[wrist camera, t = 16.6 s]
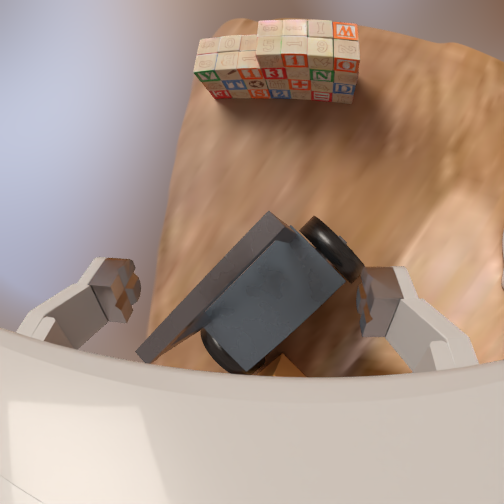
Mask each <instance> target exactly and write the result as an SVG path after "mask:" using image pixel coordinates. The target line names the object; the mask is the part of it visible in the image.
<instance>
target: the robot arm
mask: <svg viewBox="0 0 504 504" xmlns="http://www.w3.org/2000/svg"><path fill="white" fill-rule="evenodd" d="M503 258H504V232H503ZM134 270H135V265H134V263H133V261H132V260H130V259H121V258H104V257H97V258H95V259H94V260H93V262H92V263H91V264H90V266H89V267H88V269H87V270H86V271H85V273H84V274H83V276H82V277H81V278H80V280H79V281H78V283H77V284H72V285H71V286H69V287H68V288H66V289H64V290H63V291H61V292H60V293H58V294H56V295H55V296H53V297H52V298H50V299H48V300H47V301H45V302H44V303H42V304H41V305H39V306H37V307H36V308H34V309H33V310H31V311H30V312H29V313H28V315H27V316H26V318H25V319H24V321H23V322H22V324H21V325H20V327H19V328H18V330H17V331H16V332H12V331H9V330H6V329H3V328H0V504H504V360H499V361H494V362H489V363H484V364H479V363H478V360H477V357H476V355H475V352H474V349H473V347H472V344H471V341H470V339H469V337H468V336H467V335H466V334H465V333H463V332H462V331H461V330H460V329H459V328H458V327H456V326H455V325H454V324H453V323H452V322H450V321H449V320H448V319H447V318H446V317H444V316H443V315H442V314H441V313H440V312H438V311H437V310H436V309H435V308H434V307H432V306H431V305H430V304H429V303H427V302H426V301H425V300H424V299H419V298H418V295H417V293H416V290H415V288H414V285H413V283H412V280H411V278H410V276H409V273H408V271H407V269H406V267H404V266H392V267H363V269H362V273H361V279H362V283H361V284H360V285H359V286H358V290H357V298H356V303H357V311H358V313H359V314H360V315H361V318H360V327H361V333H362V337H385V338H386V340H387V341H388V342H389V343H390V344H391V346H392V347H393V348H394V349H395V350H396V352H397V353H398V354H399V355H400V357H401V358H402V359H403V360H404V361H405V363H406V364H407V365H408V366H409V368H410V369H411V370H412V371H413V372H412V373H408V374H396V375H381V376H361V377H276V376H256V375H241V374H228V373H217V372H207V371H198V370H189V369H181V368H174V367H167V366H160V365H153V364H147V363H141V362H135V361H129V360H124V359H119V358H113V357H108V356H104V355H99V354H95V353H90V352H85V351H81V350H78V349H79V348H80V347H81V346H82V345H83V344H84V343H85V342H86V341H88V340H89V339H90V338H91V337H92V336H93V335H94V334H95V333H96V332H98V331H99V330H100V329H101V328H102V327H103V326H104V325H106V324H107V322H108V321H110V322H120V323H127V322H128V320H129V318H130V316H131V314H132V311H133V308H132V305H133V304H134V303H136V302H137V301H138V299H139V297H140V292H141V284H140V280H139V277H138V276H137V275H136V274H134ZM502 287H503V289H504V270H503V276H502Z"/></svg>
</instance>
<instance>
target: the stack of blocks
mask: <svg viewBox="0 0 504 504" xmlns="http://www.w3.org/2000/svg"><path fill="white" fill-rule="evenodd" d="M358 40H359V38H358V27H357V24H352V23H343V22H332V21H327V20H308V21H307V20H267V21H259V24H258V33H257V34H256V35H234V36H222V37H216V38H207V39H201V40H200V43H199V47H198V51H197V57H196V61H195V66H194V71H193V72H194V74H195V75H196V76H197V78H198V79H199V80H200V82H202V83H203V85H204V86H205V87H206V89H207V90H208V91H209V92H210V93H211V95H212V96H213V97H214V99H221V98H268V99H270V98H283V99H306V100H315V101H327V102H336V103H346V104H352V101H353V96H354V91H355V87H356V84H357V79H358V73H359V72H358V68H359V63H360V52H359V42H358Z"/></svg>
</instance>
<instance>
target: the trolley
mask: <svg viewBox="0 0 504 504" xmlns="http://www.w3.org/2000/svg"><path fill="white" fill-rule="evenodd" d="M299 231H300V232H301V233H302V234H303V235H304V236H305V237H306V238H307V239H308V240H309V241H310V242H311V243H312V244H313V245H314V246H315V247H316V248H315V249H314V248H313V247H312V246H311V245H310V244H309V243H308V242H307V241H306V240H305V239H304V238H303V237H302V236H301V235H300V234H299V233H298V232H297V231H296V230H295V229H294V228H293V227H292V226H291V225H290V226H288V225H287V224H285V223H284V222H283V221H282V220H280V219H279V218H278V217H276V216H275V215H274V214H272V213H271V212H270V211H268V212H267V213H266V214H265V215H264V216H263V217H262V218H261V219H260V220H259V221H258V222H257V223H256V224H255V225H254V226H253V227H252V228H251V229H250V230H249V232H248V233H247V234H246V235H245V236H244V237H243V238H242V239H241V240H240V241H239V242H238V243H237V244H236V245H235V246H234V247H233V248H232V249H231V250H230V251H229V252H228V253H227V254H226V255H225V257H224V258H223V259H222V260H221V261H220V262H219V263H218V264H217V265H216V266H215V267H214V268H213V269H212V270H211V271H210V272H209V273H208V274H207V275H206V276H205V278H204V279H203V280H202V281H201V282H200V283H199V284H198V285H197V286H196V287H195V288H194V289H193V290H192V291H191V292H190V293H189V294H188V295H187V297H186V298H185V299H184V300H183V301H182V302H181V303H180V304H179V305H178V306H177V307H176V308H175V309H174V310H173V311H172V313H171V314H170V315H169V316H168V317H167V318H166V319H165V320H164V321H163V322H162V323H161V324H160V325H159V326H158V328H157V329H156V330H155V331H154V332H153V333H152V334H151V335H150V336H149V337H148V338H147V339H146V340H145V342H144V343H143V344H142V345H141V346H140V347H139V348H138V349H137V350H136V351H135V352H136V353H137V354H138V355H139V357H140V358H141V359H142V360H143V361H144V362H145V363H147V364H151V363H152V362H154V361H155V360H157V359H158V358H159V357H160V356H161V355H162V354H164V353H166V352H167V351H169V350H170V349H172V348H173V347H175V346H177V345H178V344H180V343H181V342H183V341H184V340H186V339H187V338H189V337H190V336H192V335H194V334H195V333H197V332H198V331H200V330H201V338H202V341H203V344H204V346H205V348H206V349H207V351H208V352H209V354H210V355H211V356H212V358H213V359H214V360H215V361H216V362H217V363H218V364H219V365H220V366H221V367H222V368H223V369H225V370H226V371H228V372H229V373H231V374H241V375H252V374H253V373H254V372H255V371H256V370H258V369H259V368H260V367H261V366H262V365H263V364H264V363H265V356H266V355H267V354H268V353H269V352H270V351H271V350H273V349H274V348H275V347H276V346H277V345H278V344H279V343H281V342H282V341H283V340H284V339H285V338H286V337H287V336H288V335H290V334H291V333H292V332H293V331H294V330H295V329H296V328H297V327H298V326H299V325H301V324H302V323H303V322H304V321H305V320H306V319H307V318H308V317H309V316H310V315H311V314H312V313H313V312H315V311H316V310H317V309H318V308H319V307H320V306H321V305H322V304H323V303H324V302H325V301H326V300H327V299H328V298H329V297H330V296H331V295H332V294H333V293H334V292H335V291H336V290H337V289H338V288H339V287H340V286H342V285H343V284H344V283H345V282H346V281H345V279H344V278H343V277H342V276H341V275H340V274H339V273H338V272H337V271H336V270H335V269H334V267H336V268H337V269H338V270H339V271H340V273H341V274H342V275H343V276H344V277H345V278H346V279H347V280H348V281H349V282H350V283H351V284H352V283H353V282H354V281H355V280H356V279H357V278H358V277H359V276H360V275H361V273H362V269H363V267H365V266H364V264H363V263H362V262H361V261H360V259H359V258H358V257H357V256H356V255H355V254H354V253H353V251H352V250H351V249H350V248H349V247H348V246H347V245H346V243H347V242H346V241H345V240H344V239H343V238H342V237H341V236H339V237H338V236H337V235H336V234H335V233H334V232H333V231H332V230H331V229H330V228H329V227H328V226H326V225H325V224H324V223H323V222H322V221H321V220H320V219H318V218H317V217H316V216H313V217H312V218H311V219H310V220H309V221H308V222H307V223H306V224H305V225H304V226H303V227H302V228H301V229H300V230H299ZM275 240H276V241H275ZM274 241H275V242H274ZM273 242H274V243H273ZM272 243H273V244H272ZM271 244H272V245H271ZM270 245H271V246H270ZM269 246H270V247H269ZM268 247H269V248H268ZM267 248H268V249H267ZM266 249H267V250H266ZM265 250H266V251H265ZM264 251H265V252H264ZM263 252H264V253H263ZM262 253H263V254H262ZM261 254H262V255H261ZM260 255H261V256H260ZM259 256H260V257H259ZM258 257H259V258H258ZM257 258H258V259H257ZM256 259H257V260H256ZM255 260H256V261H255ZM254 261H255V262H254ZM253 262H254V263H253ZM252 263H253V264H252ZM251 264H252V265H251ZM250 265H251V266H250ZM249 266H250V267H249ZM248 267H249V268H248ZM247 268H248V269H247ZM246 269H247V270H246ZM245 270H246V271H245ZM244 271H245V272H244ZM243 272H244V273H243ZM242 273H243V274H242ZM241 274H242V275H241ZM240 275H241V276H240ZM239 276H240V277H239ZM238 277H239V278H238ZM237 278H238V279H237ZM236 279H237V280H236ZM235 280H236V281H235ZM234 281H235V282H234ZM233 282H234V283H233ZM232 283H233V284H232ZM231 284H232V285H231ZM230 285H231V286H230ZM229 286H230V287H229ZM228 287H229V288H228ZM227 288H228V289H227ZM226 289H227V290H226ZM225 290H226V291H225Z"/></svg>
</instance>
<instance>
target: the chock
mask: <svg viewBox="0 0 504 504" xmlns="http://www.w3.org/2000/svg"><path fill="white" fill-rule="evenodd" d="M257 376H276V377H306V376H305V375H304V374H303V373H302V372H301V371H300V370H299V369H298V368H297V367H296V366H295V365H294V364H293V363H292V362H291V361H290V360H289V359H288V358H287V357H286V356H285V355H284V354H283V353H282V354H281V355H280V356H279V357H277V358H276V359H275V360H274V361H273V362H272V363H270V364H269V365H268V366H267V367H266V368H264V369H263V370H262V371H261V372H260V373H258V375H257Z"/></svg>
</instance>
